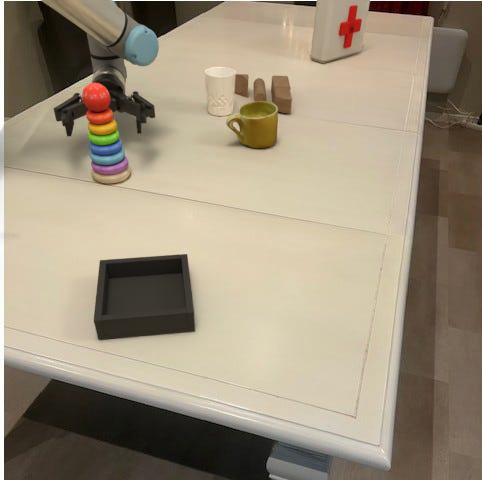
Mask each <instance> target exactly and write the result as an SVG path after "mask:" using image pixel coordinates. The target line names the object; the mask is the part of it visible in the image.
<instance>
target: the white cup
mask: <svg viewBox="0 0 482 480" xmlns="http://www.w3.org/2000/svg"><path fill="white" fill-rule="evenodd" d="M236 74H237V71H236V70H235V69H234V68H232V67H231V68H230V67H227V66H214V67H209V68H207V69H205V70H204V80H205V81H204V82H205V95H206V96H205V97H206V102H207V103H206V104H207V112H208V114H210V115H212V116H217V117H226V116H230V115H232V114H233V113H234V102H235V78H236Z"/></svg>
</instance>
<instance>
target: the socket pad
mask: <svg viewBox="0 0 482 480" xmlns="http://www.w3.org/2000/svg"><path fill="white" fill-rule="evenodd" d="M97 275H98V276H97V285H96V294H95V305H94V313H93V325H94V328H95V332H96V336H97V339H98V341H103V340H116V339H126V338H127V339H128V338H137V337H147V336H158V335H159V336H160V335H170V334H181V333H192V332H196V324H195V323H196V322H195V310H194V301H193V293H192V284H191V276H190V275H191V274H190V265H189V258H188V253H182V254H168V255H154V256H140V257H139V256H138V257H126V258H125V257H124V258H109V259H100V260H99V264H98V274H97Z"/></svg>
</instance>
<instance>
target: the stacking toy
mask: <svg viewBox="0 0 482 480" xmlns="http://www.w3.org/2000/svg"><path fill="white" fill-rule="evenodd" d="M81 94H82V95H81V97H82V99H83V102H84V104H85V105H86V107H87V108H88V109H89V110H88V111H87V113H86V115H85V117H86V120H87V121H88V124H87V129H88V133H87V138H88V140H89V142H88V148H89V149H90V150H89V158H90V160H91V162H90V164H91V165H90V166H91V173H90V174H91V177H92V178H93V180H95V181H96V182H98V183H102V184H117V183H121V182H124V181H125V180H127V179H128V178H129V176H130V175H131V166H130V165H129V159H128V157H127V156H126V152H125V151H126V150H125V149H124V148H123V141H122V139H121V138H120V132H119V130H118V129H117V128H118V123H117V122H116V120H115V119H114V112H112V110H111V109H110V108H108V106H109V104H110V94H109V92H108V90H107V89H106V87H104V86H103V85H101V84H99V83H92V82H91V83H88V84H87V85H85V87H84V88H83V90H82V93H81Z"/></svg>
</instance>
